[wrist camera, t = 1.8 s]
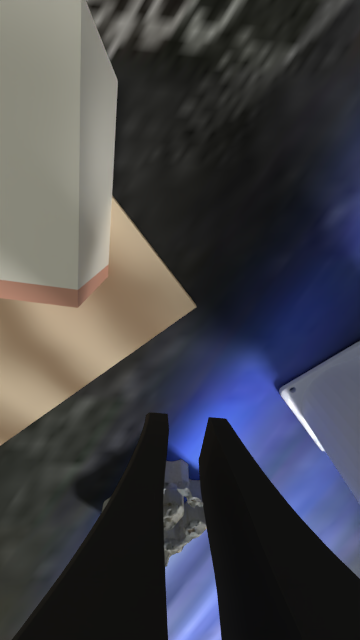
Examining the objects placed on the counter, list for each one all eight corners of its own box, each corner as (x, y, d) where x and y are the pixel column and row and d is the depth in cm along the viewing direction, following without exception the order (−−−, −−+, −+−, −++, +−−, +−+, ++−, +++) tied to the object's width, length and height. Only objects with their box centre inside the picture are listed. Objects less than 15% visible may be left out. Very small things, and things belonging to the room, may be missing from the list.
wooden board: (41, 102, 14) (36, 97, 14) (195, 304, 19) (196, 306, 18) (-169, 318, 18) (-179, 321, 18) (0, 442, 23) (-5, 448, 22)
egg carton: (143, 537, 28) (139, 588, 24) (89, 501, 26) (75, 551, 22) (225, 489, 26) (235, 537, 22) (174, 445, 24) (175, 490, 20)
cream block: (107, 276, 17) (117, 80, 14) (77, 308, 12) (81, -11, 8) (34, 266, 17) (24, 62, 13) (-34, 294, 11) (-82, -47, 8)
